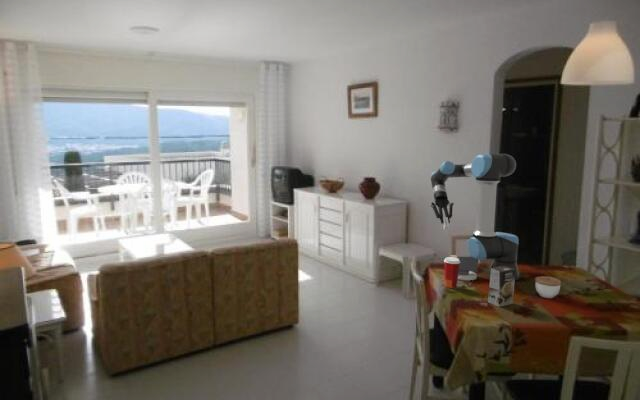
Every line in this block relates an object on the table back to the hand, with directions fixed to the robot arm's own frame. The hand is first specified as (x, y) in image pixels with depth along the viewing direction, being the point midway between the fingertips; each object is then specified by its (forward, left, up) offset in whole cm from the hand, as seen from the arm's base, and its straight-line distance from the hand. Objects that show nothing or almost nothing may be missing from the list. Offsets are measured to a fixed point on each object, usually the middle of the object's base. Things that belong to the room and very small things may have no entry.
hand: (446, 228), depth 252 cm
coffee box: (-43, +34, -22) cm, 60 cm away
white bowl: (-56, +10, -22) cm, 62 cm away
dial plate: (-15, +10, -22) cm, 29 cm away
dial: (-15, +10, -20) cm, 27 cm away
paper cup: (-17, +29, -22) cm, 41 cm away
